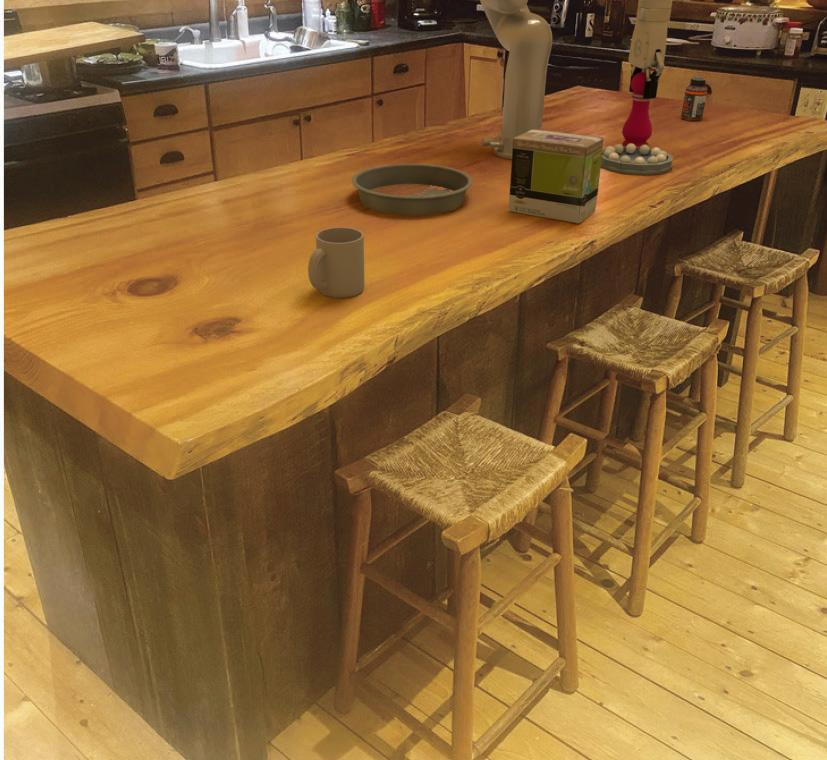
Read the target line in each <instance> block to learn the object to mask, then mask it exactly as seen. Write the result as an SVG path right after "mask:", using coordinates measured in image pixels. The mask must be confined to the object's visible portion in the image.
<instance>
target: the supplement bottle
mask: <svg viewBox="0 0 827 760" xmlns="http://www.w3.org/2000/svg"><path fill="white" fill-rule="evenodd" d="M690 78H691V79H690V83H689V84H688V85H687V86H686V87H685V91H684V97H683V104H682V109H681V115H680V118H681V119H682V120H683V121H686V122H701V121H702V120H703V115H704V112H705V111H704V110H705V107H706V101H707V94H708V87H707V86H706V78H705V77H699V76H696V77H695V76H694V77H690Z"/></svg>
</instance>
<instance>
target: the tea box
mask: <svg viewBox="0 0 827 760" xmlns="http://www.w3.org/2000/svg"><path fill="white" fill-rule="evenodd" d="M603 149H604V137H603V136H591V135H585V134H584V135H583V134H575V133H569V132H560V131H552V130H551V131H550V130H545V129H544V130H537V129H532V130H530V131H528V132H526V133H524V134H521V135H519V136H517V137H515V138H513V147H512V159H511V164H510V165H511V166H510V167H511V168H510V181H509V197H508V198H509V199H508V200H509V201H508V211H509V212H512V213H517V214H522V215H523V214H524V215H527V216H534V217H540V218H545V219H551V220H558V221H563V222H569V223H574V224H581V222H583V221H585V220H586V219H587V218H588V217H590V216H591V215H592V214H594V213H595V212H596V207H597V203H598V193H599V185H600V175H601V169H602V168H601V159H602V150H603Z"/></svg>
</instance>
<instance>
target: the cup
mask: <svg viewBox="0 0 827 760" xmlns="http://www.w3.org/2000/svg"><path fill="white" fill-rule="evenodd" d="M364 237H365V236H364V232H363V231H361V230H359V229H357V228H352V227H345V226H343V227H342V226H341V227H337V226H336V227H330V228H326V229H322V230H319V231H318V232H317V233H316V234H315V241H316V242H315V244H316V246H315V247H316V249H315V250H314V251H313V252H312V253H311V255H310V257H309V261H308V265H307V266H308V267H307V273H308V274H307V275H308V279H309V282H310V284H311V286H312V287H313V288H314V289H315V290H317V291H319V293H321V294H322V295H324V296H325V297H327V298H328V297H329V298H333V299H347V298H352V297H356V296H358V295H360V294H361V293H362V292H363V291H364V289H365V247H364V246H365V240H364Z"/></svg>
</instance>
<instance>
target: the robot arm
mask: <svg viewBox="0 0 827 760" xmlns="http://www.w3.org/2000/svg"><path fill="white" fill-rule="evenodd" d="M479 1H480V4H481V6H482V9H483V11H484V13H485V16H486V18H487V20H488V22H489V24H490V27H491V29H492V30H493V32H494V34H495V37H496V38H497V40H498V42H499V43H500V45H501V46H502V48H504V49H505V50H506V51H508V52H509V53H508V57H507V63H506V68H505V73H504V74H505V75H504V93H503V95H504V96H503V109H502V122H501V123H502V127H501V132H499V133H497V136H494V137H482V139H481V145H482V147H489V148H491V149H492V148H494V151H493V152H494V154H495V156H498V157H500V158H503V159H506V160H507V159H508V160H512V147H513V138H515V137H517V136H519V135H521V134H524V133H526V132H528V131H530V130H532V129H537V130H542V128H543V117H544V105H545V94H546V93H545V92H546V84H547V83H546V82H547V73H548V67H549V66H548V65H549V59H550V56H551V52H552V45H553V32H552V29H551V26H550V25H549V23H548V22H547V20H546V19H545V18H544V17H542V16H541V15H539V14H536V13H533V12H531V11H530V9H529V6H528V5H527V4H528V1H529V0H479ZM672 5H673V0H638V4H637V11H636V19H635V24H634V27H633V28H634V30H633V32H632V37H631V41H630V46H629V47H630V49H629V54H628V63H629V65H630V67H631V68H630V69H631V70H630V79H629V80H630V82H629V88H628V91H629V93H633V89H632V88H631V81H632V79H633V77H634V76H635V75H636V74H638V73H641V72H642V69H646V75H647V81H645V84H644V91H643V98H644V99H652V100H653V99H656V98H657V93H658V86H659V81H661V76H662V74H663V73H662V72H663V71H664V70H665V55H666V51H667V39H668V38H667V37H668V24H669V23H670V21H671V20H670V19H671V14H672V13H671V12H672Z"/></svg>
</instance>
